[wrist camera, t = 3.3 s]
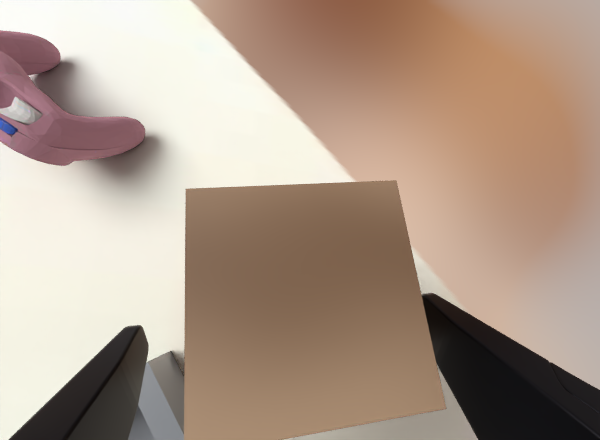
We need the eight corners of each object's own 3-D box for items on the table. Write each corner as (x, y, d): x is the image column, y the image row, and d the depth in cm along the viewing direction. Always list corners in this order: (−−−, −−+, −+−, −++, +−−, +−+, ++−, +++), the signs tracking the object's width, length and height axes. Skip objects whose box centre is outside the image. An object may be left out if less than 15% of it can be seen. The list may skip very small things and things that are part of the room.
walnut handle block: (315, 340, 17) (446, 409, 5) (237, 350, 16) (183, 458, 4) (306, 264, 18) (396, 180, 6) (234, 270, 18) (186, 188, 6)
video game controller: (24, 97, 21) (-138, 43, 14) (58, 43, 20) (-96, -42, 13) (120, 186, 20) (-3, 176, 13) (158, 133, 19) (50, 91, 12)
